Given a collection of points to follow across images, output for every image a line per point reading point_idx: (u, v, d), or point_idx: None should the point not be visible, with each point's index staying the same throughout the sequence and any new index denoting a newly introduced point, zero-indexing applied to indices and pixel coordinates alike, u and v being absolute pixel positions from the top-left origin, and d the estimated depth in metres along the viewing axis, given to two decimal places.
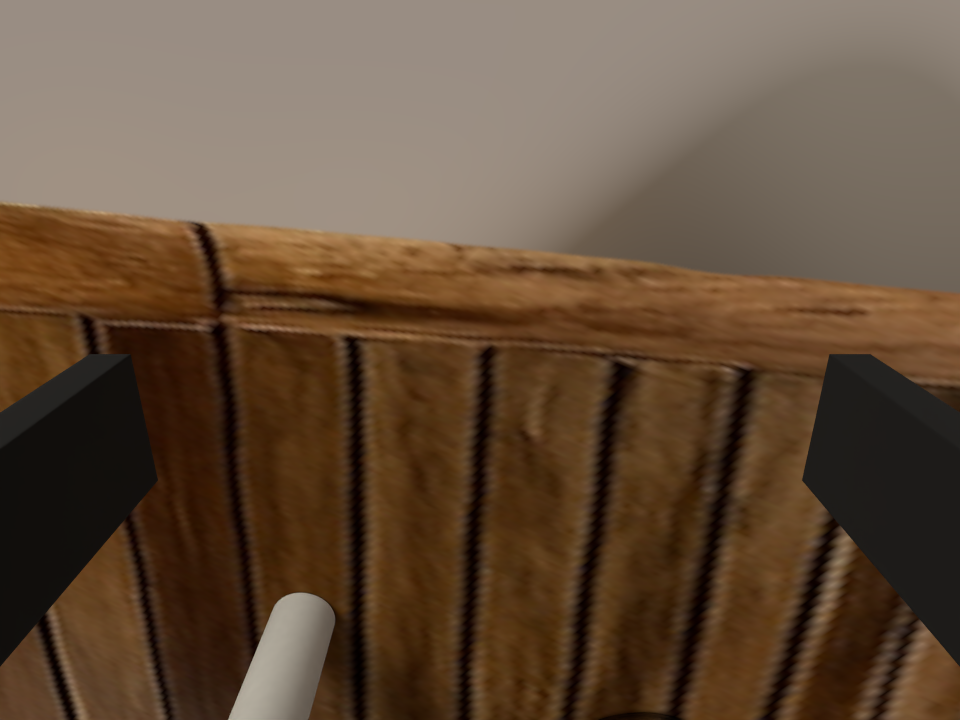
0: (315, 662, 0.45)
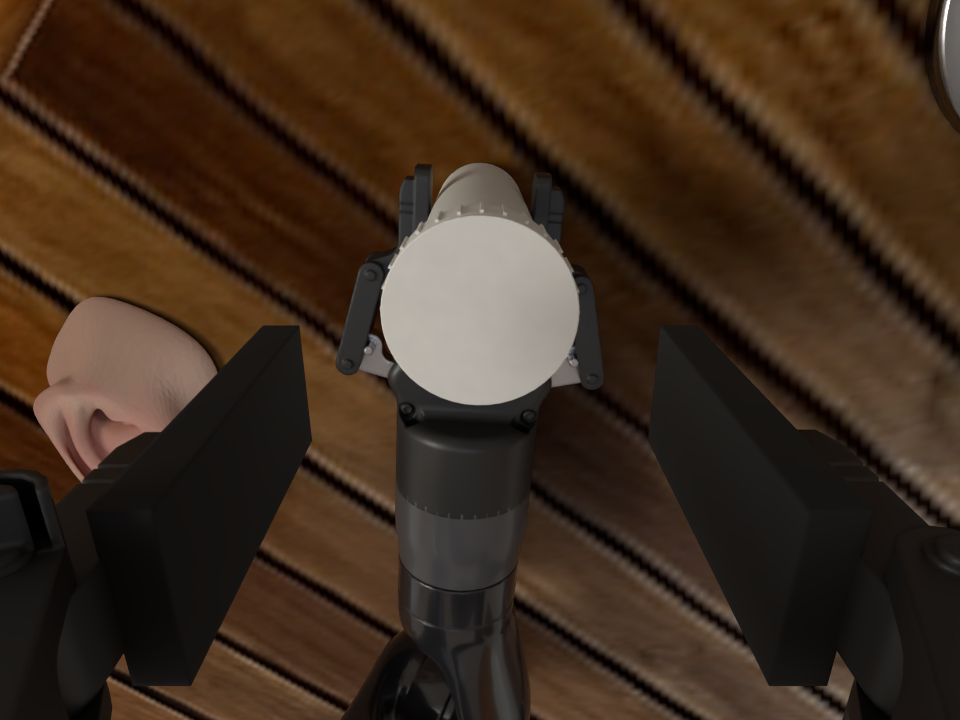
0: (493, 174, 0.31)
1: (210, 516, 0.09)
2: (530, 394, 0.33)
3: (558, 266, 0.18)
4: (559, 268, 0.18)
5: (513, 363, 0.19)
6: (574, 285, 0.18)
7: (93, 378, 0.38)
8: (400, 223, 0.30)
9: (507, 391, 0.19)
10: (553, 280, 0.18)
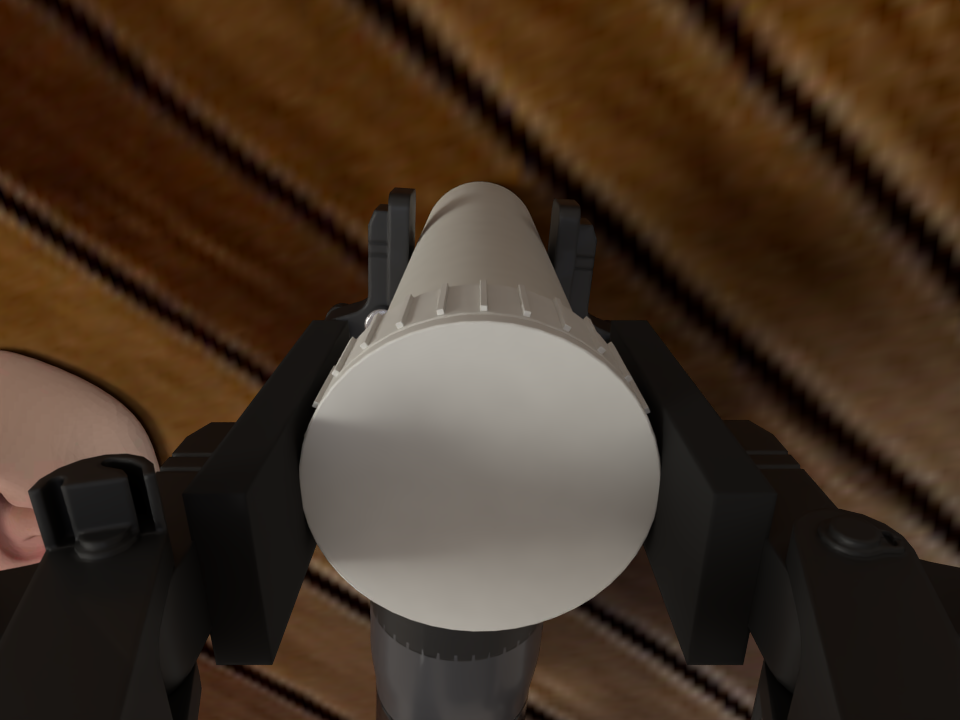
0: (498, 201, 0.23)
1: (285, 502, 0.09)
2: None
3: (626, 410, 0.10)
4: (627, 413, 0.10)
5: (539, 568, 0.11)
6: (654, 442, 0.10)
7: None
8: (370, 270, 0.22)
9: (528, 610, 0.11)
10: (615, 434, 0.10)
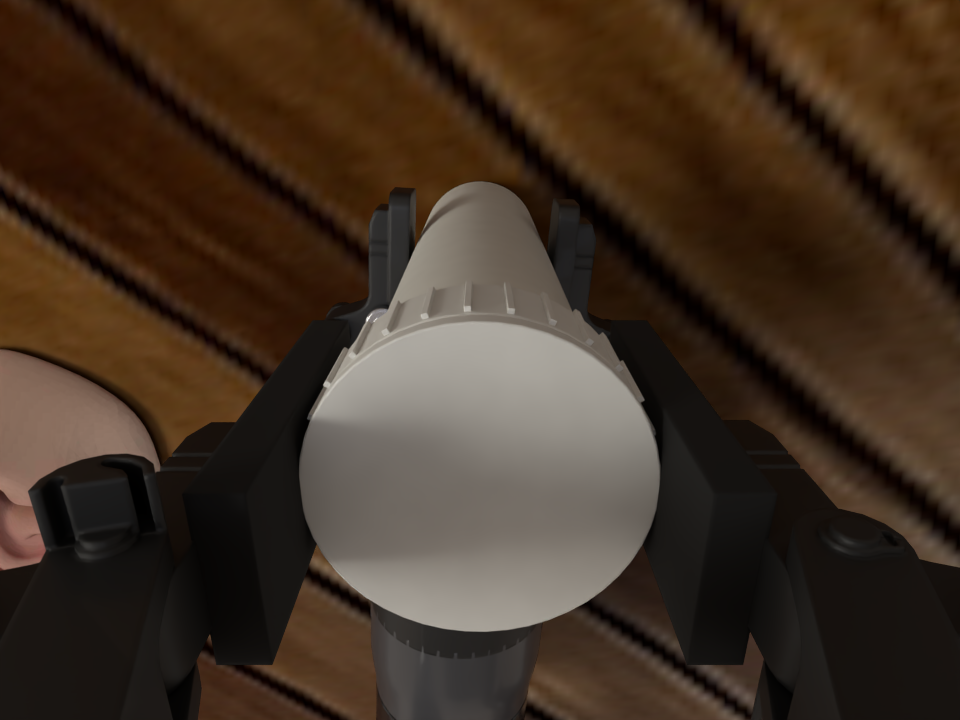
0: (498, 200, 0.23)
1: (285, 502, 0.09)
2: None
3: (368, 373, 0.09)
4: (372, 371, 0.09)
5: (570, 431, 0.10)
6: (402, 339, 0.09)
7: None
8: (371, 269, 0.22)
9: (631, 436, 0.10)
10: (396, 379, 0.09)
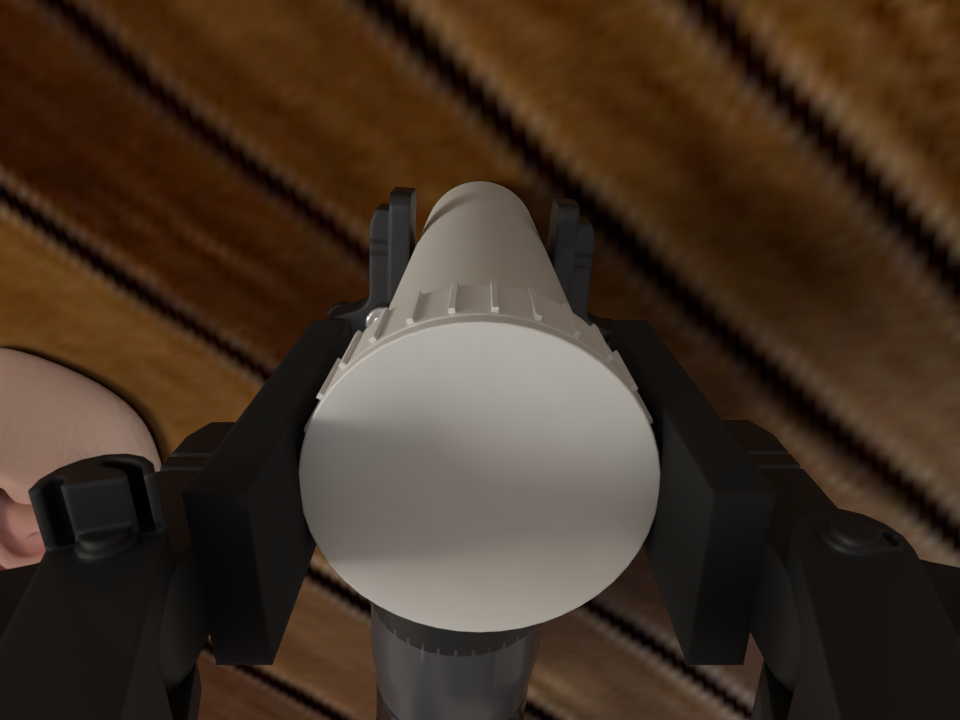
0: (498, 200, 0.23)
1: (285, 502, 0.09)
2: None
3: (365, 584, 0.11)
4: (362, 581, 0.11)
5: (399, 421, 0.10)
6: (329, 560, 0.11)
7: None
8: (371, 268, 0.22)
9: (397, 363, 0.09)
10: (367, 564, 0.11)
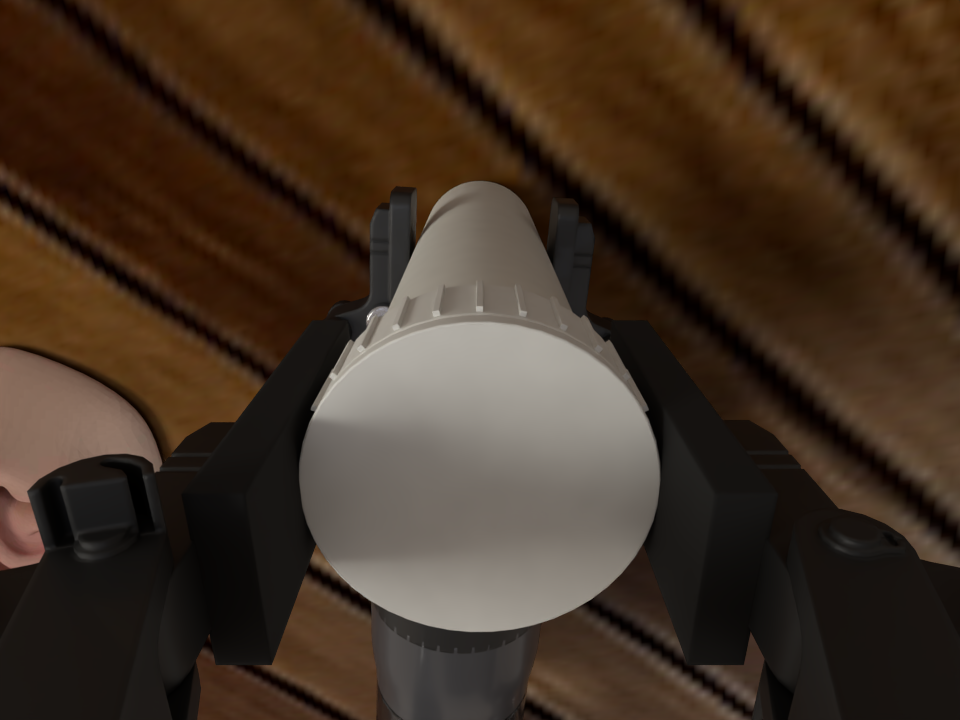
0: (498, 200, 0.23)
1: (284, 502, 0.09)
2: None
3: (594, 583, 0.11)
4: (591, 585, 0.11)
5: (408, 561, 0.11)
6: (567, 610, 0.11)
7: None
8: (372, 267, 0.22)
9: (352, 563, 0.11)
10: (569, 582, 0.11)
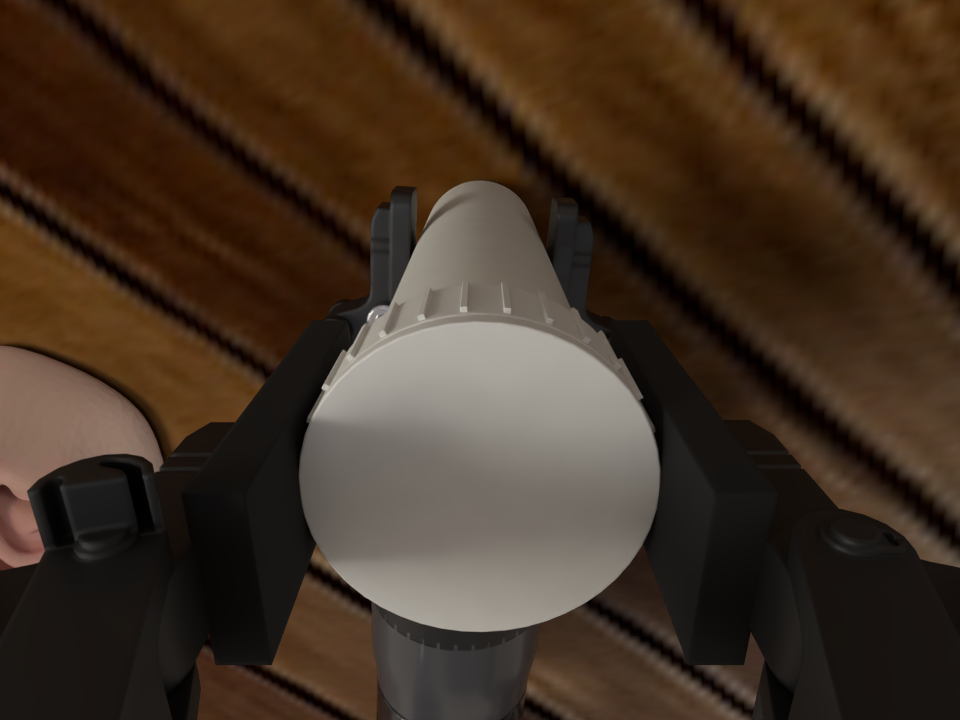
0: (498, 199, 0.24)
1: (284, 502, 0.09)
2: None
3: (589, 373, 0.09)
4: (592, 375, 0.09)
5: (565, 549, 0.10)
6: (630, 395, 0.09)
7: None
8: (372, 266, 0.22)
9: (570, 593, 0.11)
10: (588, 399, 0.09)
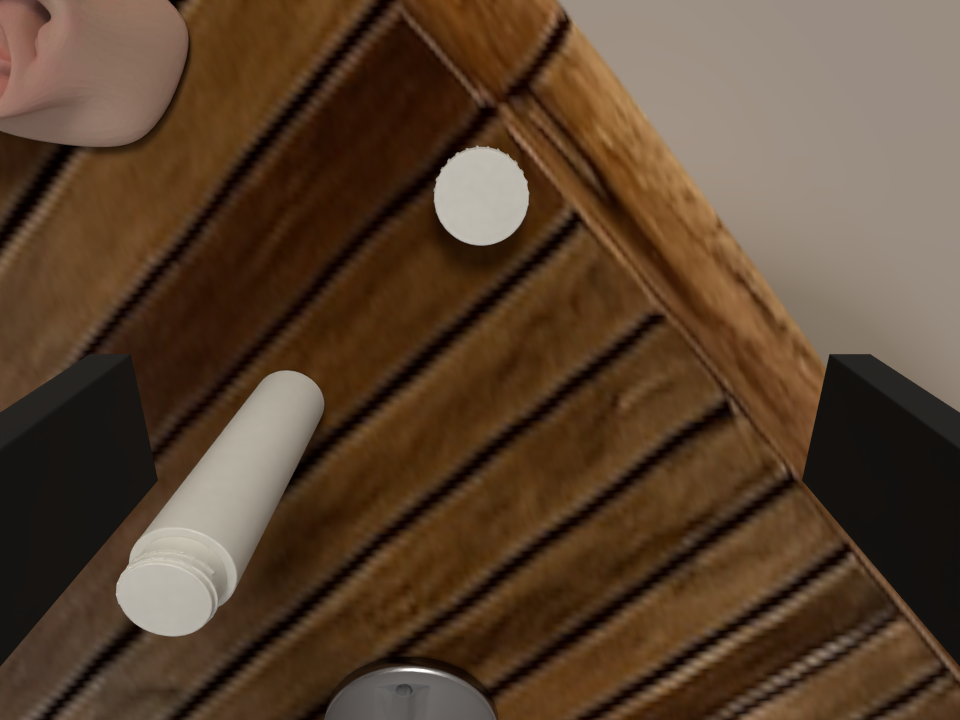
0: (304, 449, 0.41)
1: None
2: None
3: (508, 163, 0.38)
4: (509, 163, 0.38)
5: (504, 216, 0.39)
6: (518, 169, 0.38)
7: (88, 25, 0.35)
8: None
9: (506, 231, 0.39)
10: (508, 170, 0.38)
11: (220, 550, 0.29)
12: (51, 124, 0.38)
